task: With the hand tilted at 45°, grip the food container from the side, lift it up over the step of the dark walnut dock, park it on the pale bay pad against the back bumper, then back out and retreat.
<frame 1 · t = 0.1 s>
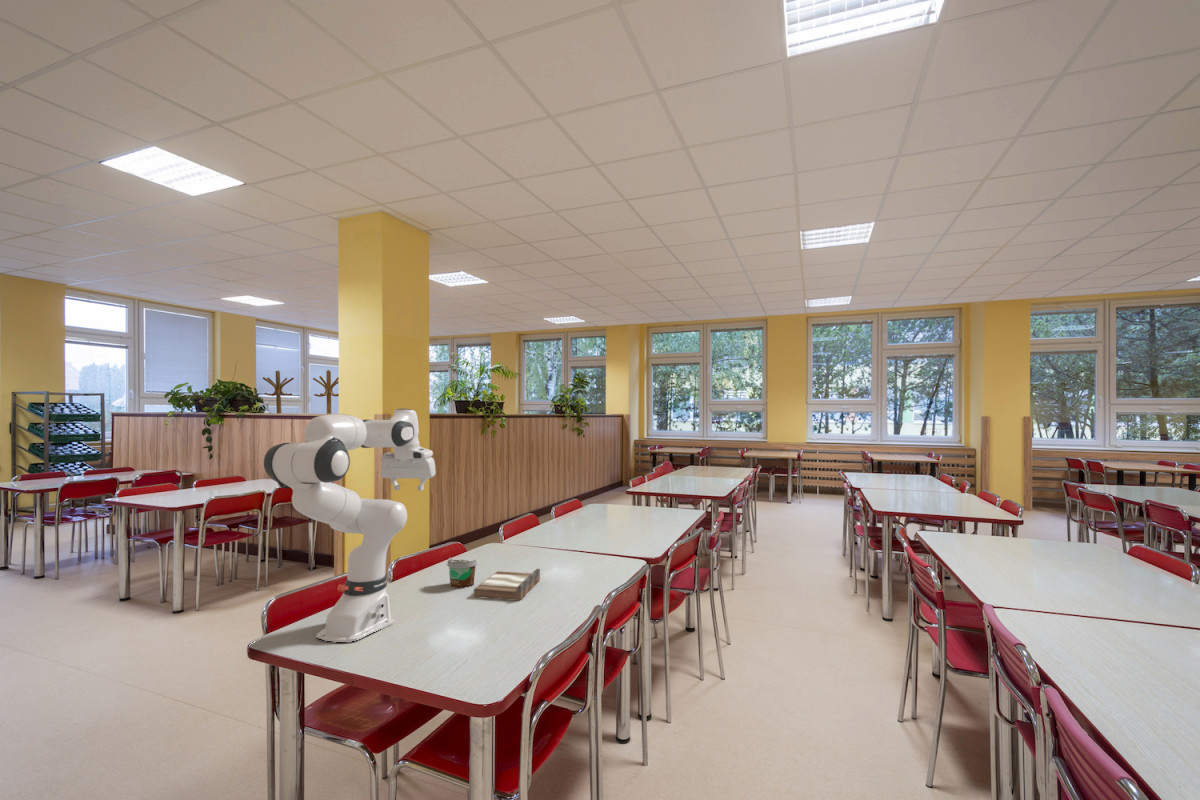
hand: (408, 490, 186), 39 cm above the table, tool pointing down, fingers open, 8 cm apart
dock: (508, 588, 194), on the table
food container: (458, 587, 196), on the table
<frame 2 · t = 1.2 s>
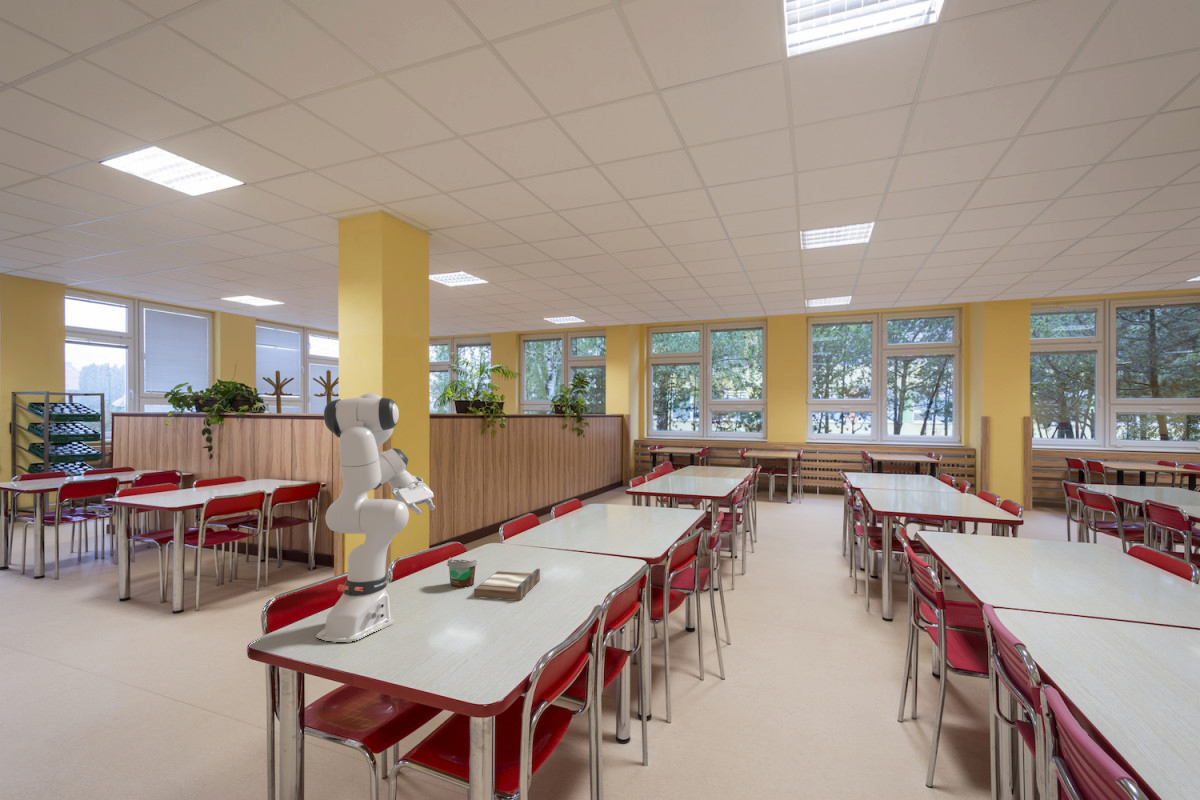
hand: (427, 511, 200), 28 cm above the table, tool tilted 45°, fingers open, 8 cm apart
nothing on the table moved.
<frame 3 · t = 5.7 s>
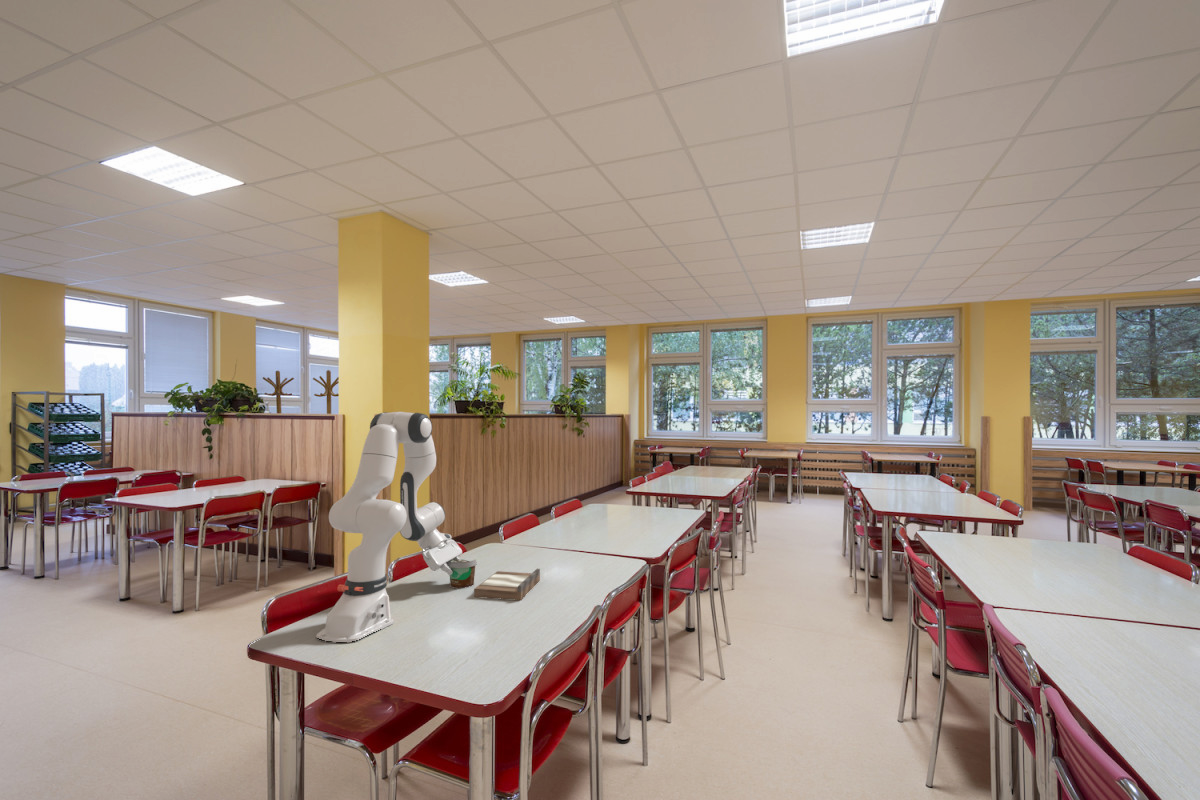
hand: (456, 570, 197), 6 cm above the table, tool tilted 45°, fingers closed on food container, 6 cm apart
food container: (458, 586, 196), on the table, touching gripper
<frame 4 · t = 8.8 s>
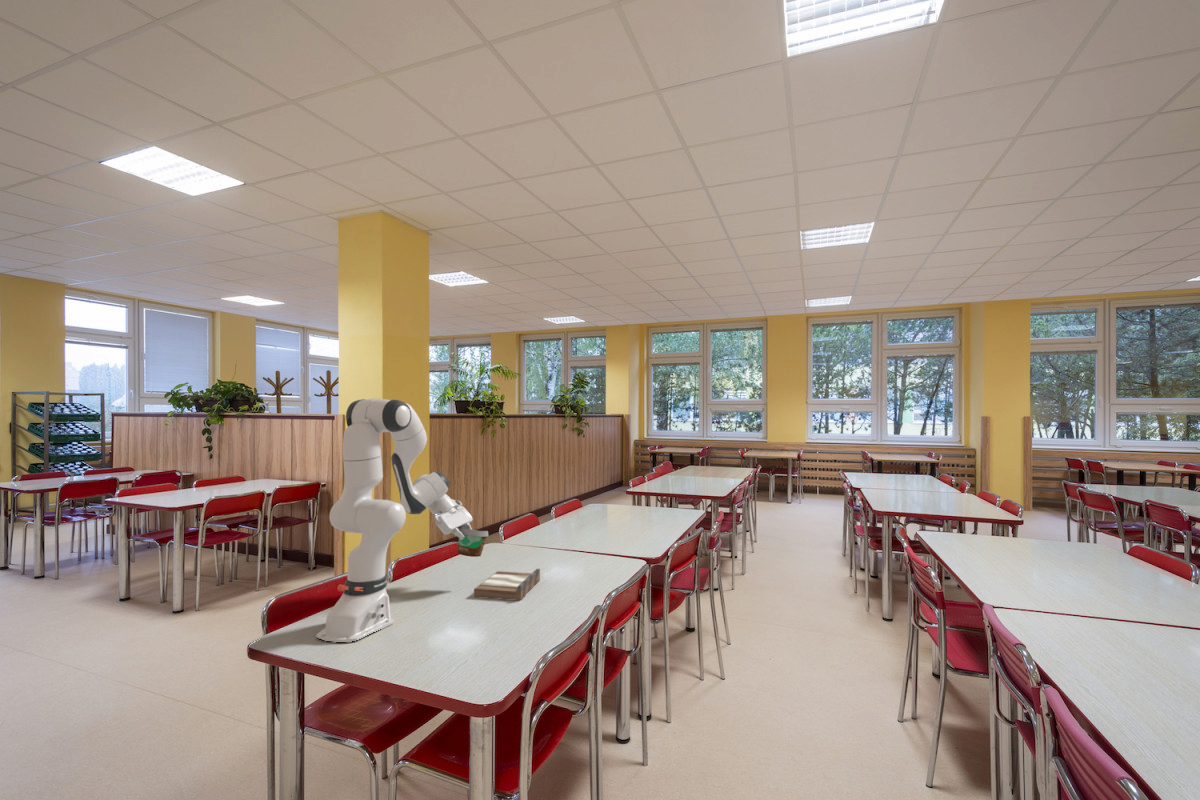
hand: (468, 536, 197), 19 cm above the table, tool tilted 45°, fingers closed on food container, 6 cm apart
food container: (466, 555, 196), point 12 cm above the table, touching gripper
when the fingers open (10 cm above the table, at t = 12.6 s): food container stays where it is, resting on dock.
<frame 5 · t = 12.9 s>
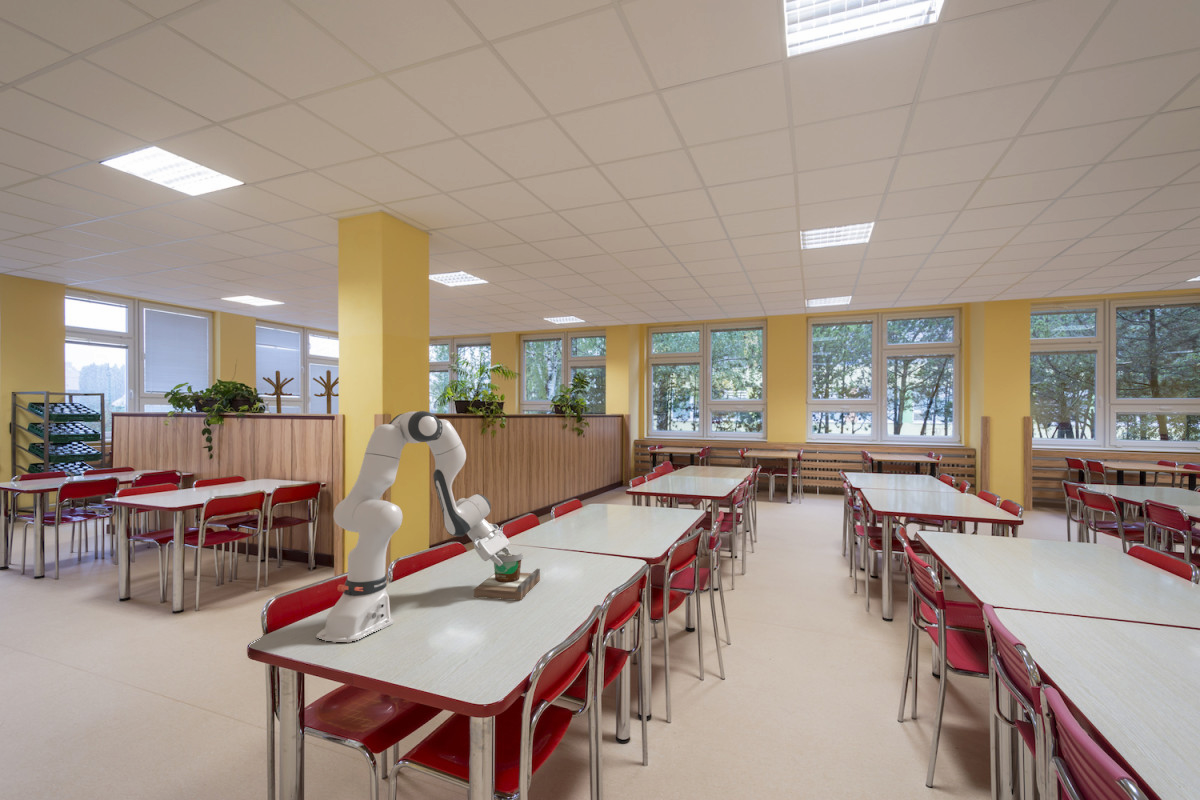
hand: (506, 561, 194), 10 cm above the table, tool tilted 45°, fingers open, 8 cm apart
food container: (504, 581, 193), point 3 cm above the table, touching dock
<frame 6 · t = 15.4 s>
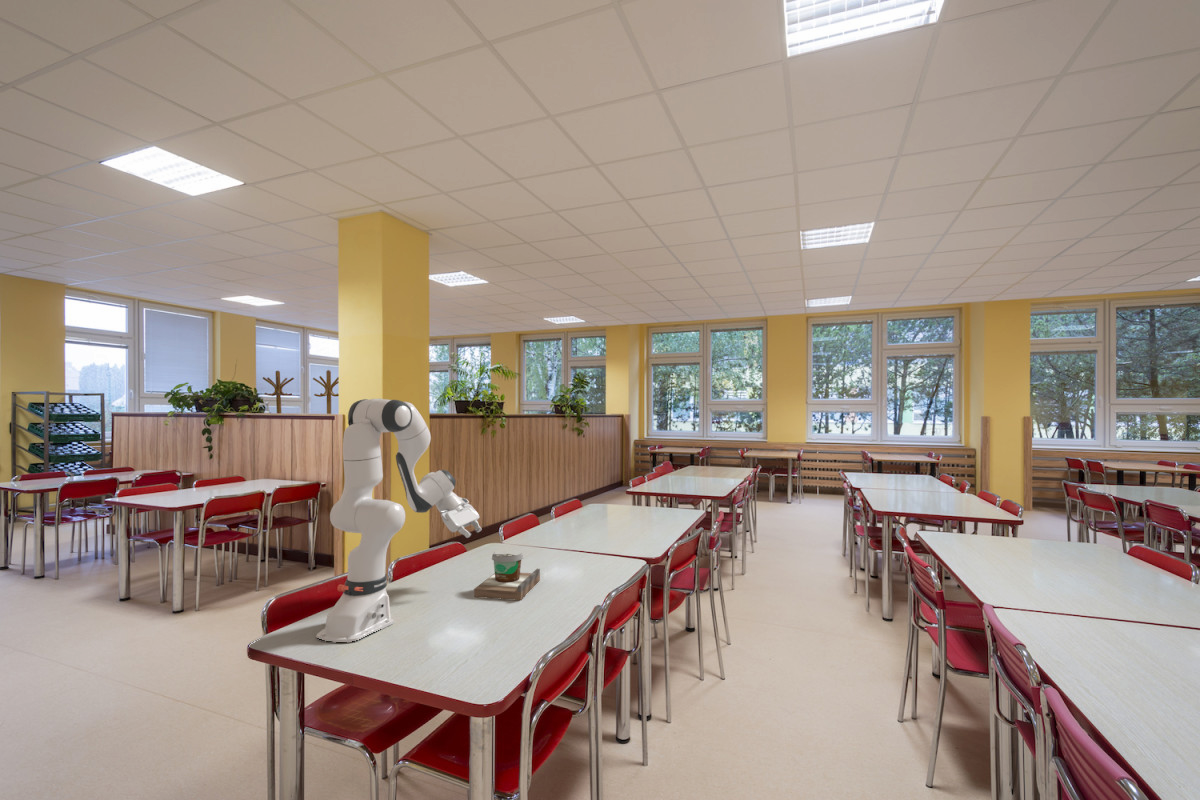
hand: (474, 533, 197), 20 cm above the table, tool tilted 45°, fingers open, 8 cm apart
nothing on the table moved.
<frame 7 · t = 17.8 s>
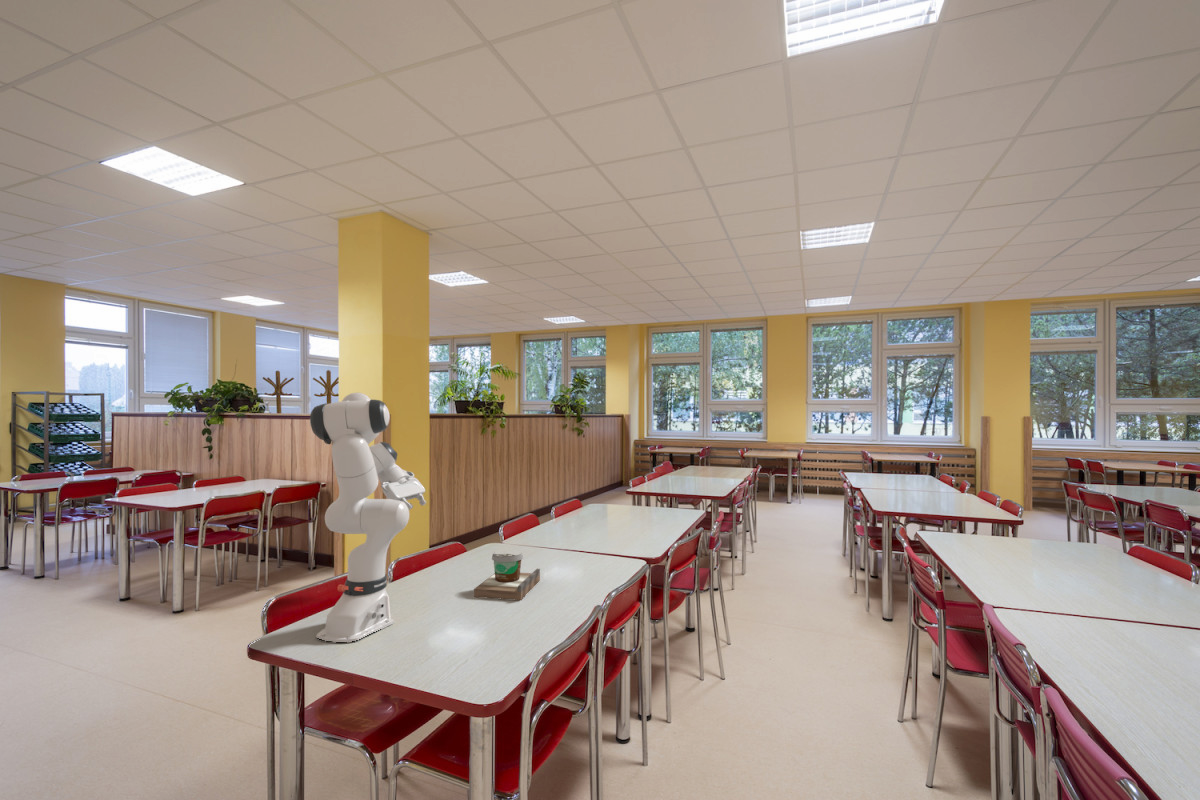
hand: (417, 506, 194), 31 cm above the table, tool tilted 45°, fingers open, 8 cm apart
nothing on the table moved.
at the end: food container inside the target area on the dock (1.8 cm from its centre), point 3.0 cm above the dock's base; food container tilted 0°; the gripper is holding nothing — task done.
